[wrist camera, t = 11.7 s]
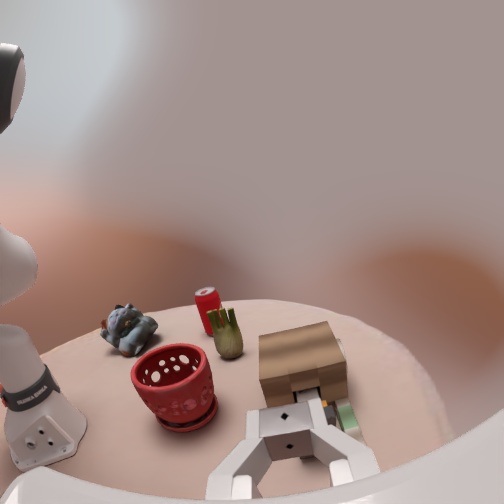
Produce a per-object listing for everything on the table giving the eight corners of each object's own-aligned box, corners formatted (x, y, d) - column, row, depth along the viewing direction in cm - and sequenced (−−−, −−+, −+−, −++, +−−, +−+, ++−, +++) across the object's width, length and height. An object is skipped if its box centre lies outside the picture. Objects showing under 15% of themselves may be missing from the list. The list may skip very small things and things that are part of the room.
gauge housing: (372, 457, 26) (377, 413, 23) (275, 479, 27) (259, 440, 24) (336, 363, 48) (331, 319, 46) (270, 378, 49) (258, 335, 47)
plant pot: (158, 445, 35) (124, 395, 32) (158, 399, 48) (133, 351, 45) (233, 428, 38) (210, 375, 35) (219, 383, 50) (200, 334, 48)
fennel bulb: (248, 351, 60) (235, 304, 57) (236, 363, 56) (221, 315, 53) (228, 347, 63) (214, 303, 61) (216, 359, 59) (200, 313, 57)
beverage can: (232, 325, 74) (220, 285, 71) (222, 337, 69) (209, 295, 66) (212, 325, 77) (200, 286, 74) (202, 337, 71) (188, 296, 68)
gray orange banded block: (337, 450, 28) (335, 416, 26) (299, 459, 28) (291, 425, 27) (318, 380, 44) (312, 344, 42) (289, 386, 44) (281, 351, 42)
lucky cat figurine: (128, 363, 63) (92, 324, 61) (124, 362, 72) (93, 328, 71) (165, 325, 72) (130, 288, 70) (156, 329, 81) (126, 296, 80)
